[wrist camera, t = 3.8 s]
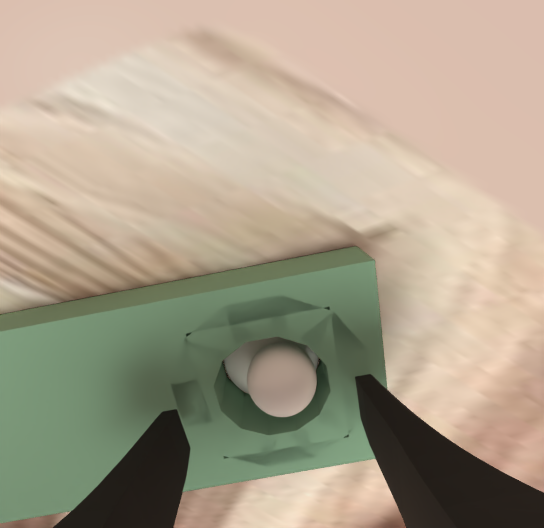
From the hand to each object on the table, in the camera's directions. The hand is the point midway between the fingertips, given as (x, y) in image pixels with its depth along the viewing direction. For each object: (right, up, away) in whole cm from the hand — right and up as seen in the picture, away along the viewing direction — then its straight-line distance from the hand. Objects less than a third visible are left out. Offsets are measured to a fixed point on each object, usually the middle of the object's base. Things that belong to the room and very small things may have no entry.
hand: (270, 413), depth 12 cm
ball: (+1, +1, +2) cm, 2 cm away
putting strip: (-7, 0, +4) cm, 8 cm away
